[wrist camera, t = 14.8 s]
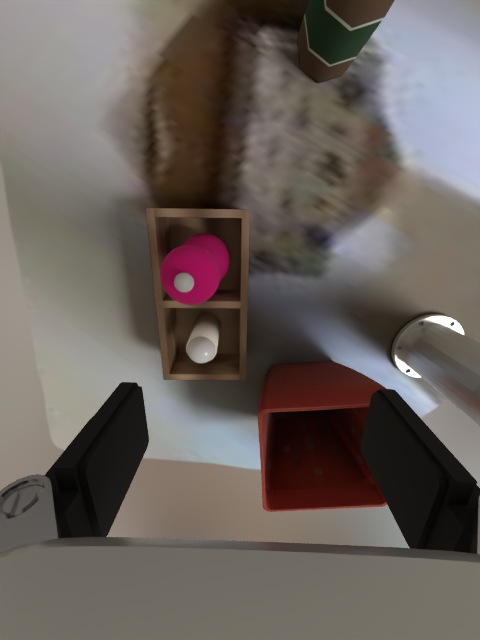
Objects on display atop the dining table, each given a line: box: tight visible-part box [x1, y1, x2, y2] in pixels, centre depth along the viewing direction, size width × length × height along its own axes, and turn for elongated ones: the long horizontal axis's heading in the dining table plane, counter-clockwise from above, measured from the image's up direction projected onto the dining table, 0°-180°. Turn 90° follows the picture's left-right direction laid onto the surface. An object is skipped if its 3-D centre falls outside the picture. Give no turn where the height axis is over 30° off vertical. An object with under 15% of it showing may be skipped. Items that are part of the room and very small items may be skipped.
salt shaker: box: [186, 314, 221, 363], centre depth 40 cm, size 4×4×11 cm
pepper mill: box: [160, 233, 230, 305], centre depth 32 cm, size 7×7×20 cm
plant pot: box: [258, 361, 387, 512], centre depth 44 cm, size 19×19×17 cm
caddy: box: [146, 208, 250, 380], centre depth 41 cm, size 13×25×8 cm, turn 179°
